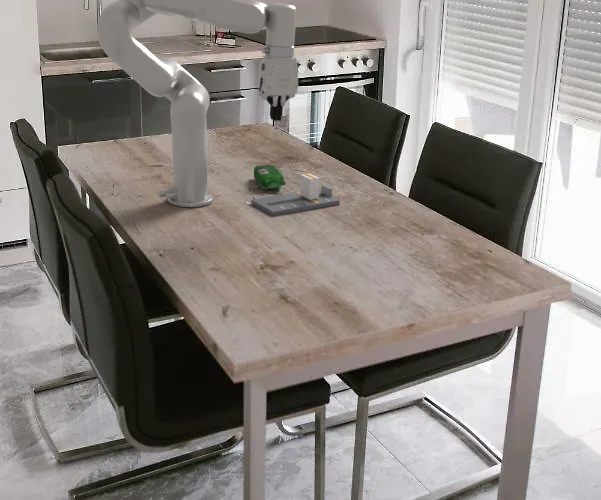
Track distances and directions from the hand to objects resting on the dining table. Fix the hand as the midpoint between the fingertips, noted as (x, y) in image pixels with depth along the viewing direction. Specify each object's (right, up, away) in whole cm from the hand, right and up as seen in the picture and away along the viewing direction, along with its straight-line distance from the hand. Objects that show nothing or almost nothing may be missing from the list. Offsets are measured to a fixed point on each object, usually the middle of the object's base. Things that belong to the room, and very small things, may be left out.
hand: (275, 119), depth 245 cm
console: (+5, -23, +9) cm, 25 cm away
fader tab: (+9, -20, +11) cm, 25 cm away
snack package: (-3, -16, +25) cm, 30 cm away
